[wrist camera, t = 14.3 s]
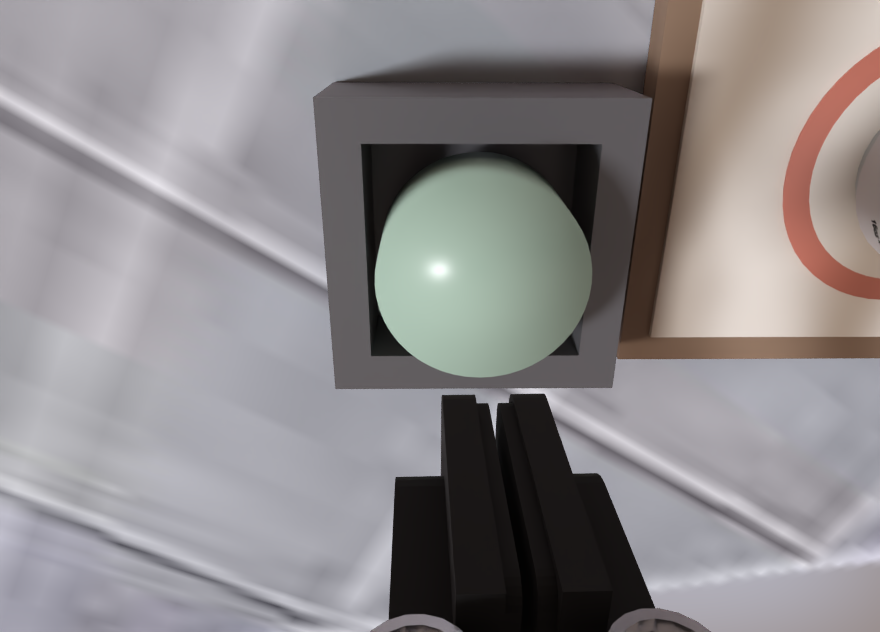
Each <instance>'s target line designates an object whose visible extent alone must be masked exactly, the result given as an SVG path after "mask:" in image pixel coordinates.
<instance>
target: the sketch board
mask: <svg viewBox="0 0 880 632" xmlns="http://www.w3.org/2000/svg"><path fill="white" fill-rule="evenodd" d="M643 95H645V96H648V97H650V98H652V105H651V112H650V119H649V126H648V133H647V141H646V148H645V155H644V162H643V169H642V177H641V184H640V191H639V198H638V205H637V212H636V220H635V227H634V234H633V241H632V248H631V256H630V263H629V270H628V277H627V284H626V291H625V299H624V306H623V313H622V320H621V327H620V335H619V342H618V349H617V358H618V359H781V358H880V254H879V253H878V252H877V251H876V250H875V249H874V248H873V247H872V246H871V245H870V244H869V243H868V242H867V240H866V238H865V236H864V234H863V232H862V231H861V229H860V225H859V221H858V217H857V213H856V190H855V183H856V178H857V172H858V168H859V165H860V162H861V160H862V157H863V155H864V152H865V151H866V149H867V147H868V146H869V144H870V142H871V140H872V139H873V137H874V136H875V135H876V134H877V132H878V131H879V130H880V0H655V7H654V15H653V22H652V30H651V37H650V45H649V52H648V60H647V67H646V75H645V82H644V90H643Z"/></svg>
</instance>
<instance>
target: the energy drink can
mask: <svg viewBox="0 0 880 632" xmlns="http://www.w3.org/2000/svg"><path fill="white" fill-rule="evenodd" d="M855 190H856V213H857V217H858V221H859V225H860V229H861V231H862V232H863V234H864V236H865V238H866V240H867V242H868V243H869V244H870V245H871V246H872V247H873V248H874V249H875V250H876V251H877V252H878V253H879V254H880V130H879V131H878V132H877V134H876V135H875V136H874V137H873V139H872V140H871V142H870V144H869V146H868V147H867V149H866V151H865V152H864V155H863V157H862V160H861V162H860V165H859V168H858V172H857V178H856V183H855Z"/></svg>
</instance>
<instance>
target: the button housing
mask: <svg viewBox="0 0 880 632" xmlns="http://www.w3.org/2000/svg"><path fill="white" fill-rule="evenodd" d="M313 102H314V115H315V128H316V141H317V154H318V167H319V180H320V193H321V206H322V219H323V232H324V245H325V258H326V271H327V284H328V297H329V310H330V323H331V336H332V350H333V363H334V376H335V389H426V388H612V385H613V378H614V370H615V363H616V356H617V349H618V342H619V335H620V327H621V320H622V313H623V306H624V299H625V291H626V284H627V277H628V270H629V263H630V256H631V248H632V241H633V234H634V227H635V220H636V212H637V205H638V198H639V191H640V184H641V177H642V169H643V162H644V155H645V148H646V141H647V133H648V126H649V119H650V112H651V105H652V98H650V97H648V96H645V95H643V94H640V93H638V92H635V91H632V90H630V89H627V88H625V87H622V86H620V85H617V84H614V83H387V82H333V83H332V84H331V85H329V86H328V87H327V88H325V89H324V90H323V91H321V92H320V93H318V94H317V95H316V96H314V97H313ZM466 152H492V153H497V154H502V155H506V156H509V157H512V158H514V159H517V160H519V161H521V162H523V163H525V164H527V165H529V166H530V167H531V168H533V169H534V170H536V171H537V172H539V173H540V174H541V175H542V176H543V177H544V178H545V179H546V180H547V181H548V182H549V183H550V185H551V186H552V187H553V188H554V190H555V191H556V192H557V194H558V195H559V197H560V198H561V200H562V201H563V202H564V204H565V205H566V207H567V208H568V210H569V211H570V212H571V214H572V215H573V217H574V218H575V220H576V221H577V223H578V225H579V226H580V228H581V230H582V231H583V234H584V236H585V239H586V241H587V243H588V247H589V251H590V255H591V262H592V285H591V290H590V296H589V299H588V302H587V305H586V308H585V311H584V313H583V315H582V317H581V319H580V321H579V323H578V324H577V326H576V327H575V329H574V330H573V332H572V333H571V334H570V335H569V337H568V338H567V339H566V340H565V341H564V342H563V343H562V344H561V345H560V346H559V347H558V348H557V349H556V350H555V351H554V352H552V353H551V354H549V355H548V356H547V357H545V358H544V359H542V360H541V361H539V362H537V363H535V364H533V365H532V366H529V367H527V368H525V369H522V370H520V371H517V372H513V373H510V374H506V375H501V376H495V377H481V378H479V377H465V376H459V375H453V374H450V373H446V372H443V371H440V370H438V369H435V368H433V367H431V366H429V365H427V364H425V363H423V362H422V361H420V360H418V359H417V358H416V357H414V356H413V355H412V354H410V353H409V352H408V351H407V350H406V349H405V348H404V347H403V346H402V345H401V344H400V343H399V342H398V341H397V340H396V339H395V337H394V336H393V335H392V333H391V332H390V330H389V329H388V327H387V325H386V323H385V322H384V319H383V317H382V315H381V312H380V310H379V306H378V302H377V298H376V291H375V268H376V262H377V257H378V252H379V247H380V243H381V238H382V233H383V229H384V224H385V221H386V217H387V214H388V211H389V209H390V207H391V205H392V203H393V201H394V199H395V198H396V196H397V195H398V193H399V192H400V190H401V189H402V188H403V187H404V185H405V184H406V183H407V182H408V181H409V180H410V179H411V178H412V177H413V176H415V175H416V174H417V173H418V172H419V171H421V170H422V169H424V168H425V167H427V166H428V165H430V164H432V163H434V162H436V161H438V160H440V159H443V158H446V157H449V156H452V155H456V154H461V153H466Z"/></svg>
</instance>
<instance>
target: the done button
mask: <svg viewBox="0 0 880 632" xmlns="http://www.w3.org/2000/svg"><path fill="white" fill-rule="evenodd" d="M591 285H592V262H591V255H590V251H589V247H588V243H587V241H586V239H585V236H584V234H583V231H582V230H581V228H580V226H579V225H578V223H577V221H576V220H575V218H574V217H573V215H572V214H571V212H570V211H569V210H568V208H567V207H566V205H565V204H564V202H563V201H562V200H561V198H560V197H559V195H558V194H557V192H556V191H555V190H554V188H553V187H552V186H551V185H550V183H549V182H548V181H547V180H546V179H545V178H544V177H543V176H542V175H541V174H540V173H539V172H537V171H536V170H534V169H533V168H531V167H530V166H529V165H527V164H525V163H523V162H521V161H519V160H517V159H514V158H512V157H509V156H506V155H502V154H497V153H492V152H466V153H461V154H456V155H452V156H449V157H446V158H443V159H440V160H438V161H436V162H434V163H432V164H430V165H428V166H427V167H425V168H424V169H422V170H421V171H419V172H418V173H417V174H416V175H415V176H413V177H412V178H411V179H410V180H409V181H408V182H407V183H406V184H405V185H404V187H403V188H402V189H401V190H400V192H399V193H398V195H397V196H396V198H395V199H394V201H393V203H392V205H391V207H390V209H389V211H388V214H387V217H386V221H385V224H384V229H383V233H382V238H381V243H380V247H379V252H378V257H377V262H376V268H375V291H376V298H377V302H378V306H379V310H380V312H381V315H382V317H383V319H384V322H385V323H386V325H387V327H388V329H389V330H390V332H391V333H392V335H393V336H394V337H395V339H396V340H397V341H398V342H399V343H400V344H401V345H402V346H403V347H404V348H405V349H406V350H407V351H408V352H409V353H410V354H412V355H413V356H414V357H416V358H417V359H418V360H420V361H422V362H423V363H425V364H427V365H429V366H431V367H433V368H435V369H438V370H440V371H443V372H446V373H450V374H453V375H459V376H465V377H479V378H481V377H495V376H501V375H506V374H510V373H513V372H517V371H520V370H522V369H525V368H527V367H529V366H532V365H533V364H535V363H537V362H539V361H541V360H542V359H544V358H545V357H547V356H548V355H549V354H551V353H552V352H554V351H555V350H556V349H557V348H558V347H559V346H560V345H561V344H562V343H563V342H564V341H565V340H566V339H567V338H568V337H569V335H570V334H571V333H572V332H573V330H574V329H575V327H576V326H577V324H578V323H579V321H580V319H581V317H582V315H583V313H584V311H585V308H586V305H587V302H588V299H589V296H590V290H591Z"/></svg>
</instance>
